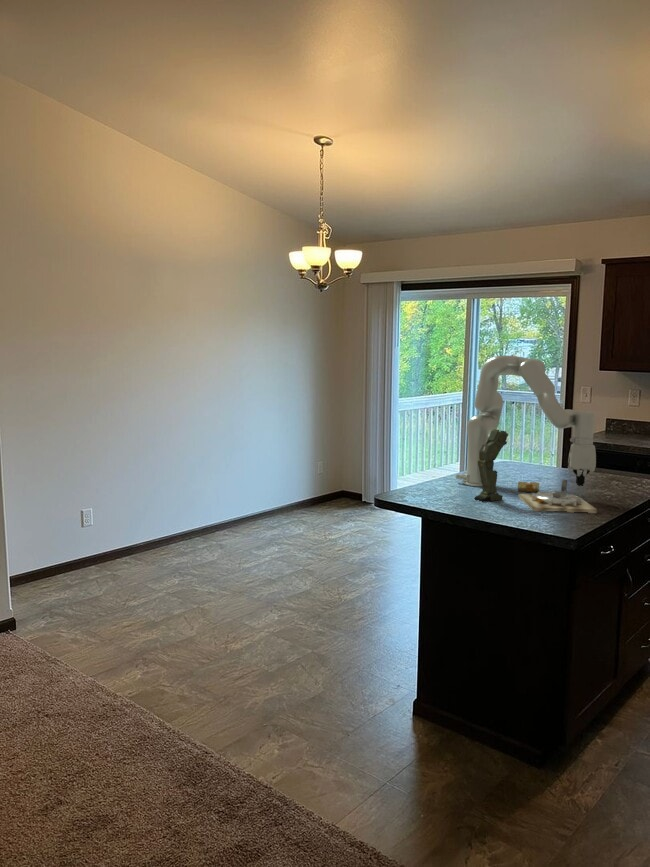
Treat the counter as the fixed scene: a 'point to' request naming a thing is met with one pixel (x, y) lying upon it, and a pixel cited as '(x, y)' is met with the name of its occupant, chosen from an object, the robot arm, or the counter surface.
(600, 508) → the counter surface
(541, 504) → the sprocket plate
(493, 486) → the mechanical leg
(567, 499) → the sprocket
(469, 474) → the robot arm
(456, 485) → the counter surface
